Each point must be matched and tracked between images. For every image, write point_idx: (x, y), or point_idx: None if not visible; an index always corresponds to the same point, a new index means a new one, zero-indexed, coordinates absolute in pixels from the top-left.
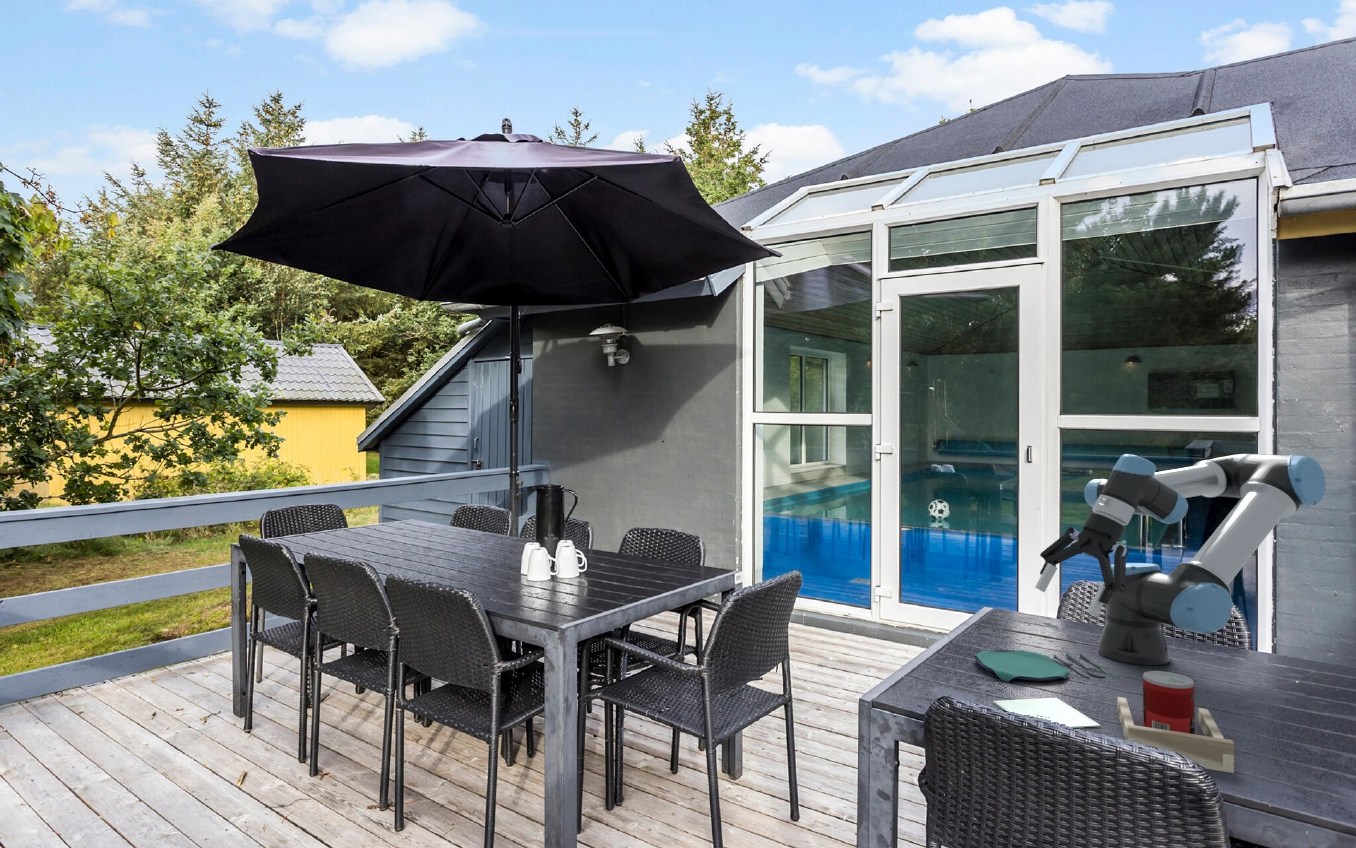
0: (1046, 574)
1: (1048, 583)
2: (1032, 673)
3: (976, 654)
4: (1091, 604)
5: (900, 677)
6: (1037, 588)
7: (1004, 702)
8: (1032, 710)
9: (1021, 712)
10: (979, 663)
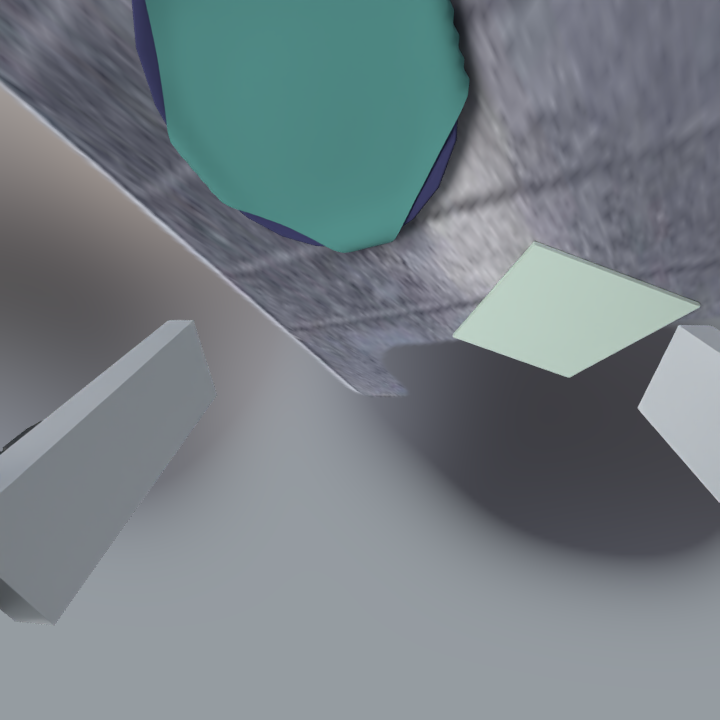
0: (136, 484)
1: (147, 372)
2: (372, 144)
3: (212, 192)
4: (691, 460)
5: (298, 340)
6: (215, 394)
7: (470, 332)
8: (530, 330)
9: (519, 345)
10: (281, 235)
